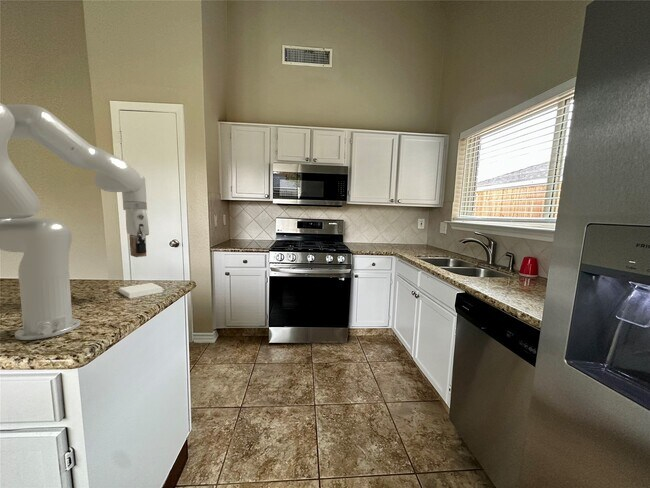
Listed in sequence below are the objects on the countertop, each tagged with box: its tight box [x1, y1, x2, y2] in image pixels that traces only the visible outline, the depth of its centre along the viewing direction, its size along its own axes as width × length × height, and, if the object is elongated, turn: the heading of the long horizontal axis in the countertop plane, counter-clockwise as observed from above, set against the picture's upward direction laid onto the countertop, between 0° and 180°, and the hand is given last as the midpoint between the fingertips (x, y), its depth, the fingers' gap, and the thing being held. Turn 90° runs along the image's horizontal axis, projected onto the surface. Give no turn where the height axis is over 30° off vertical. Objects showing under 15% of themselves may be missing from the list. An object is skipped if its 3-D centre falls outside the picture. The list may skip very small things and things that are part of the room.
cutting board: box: [118, 282, 164, 299], centre depth 111 cm, size 12×12×2 cm
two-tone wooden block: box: [128, 235, 147, 258], centre depth 103 cm, size 6×4×8 cm, turn 53°
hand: (138, 251), depth 104 cm, fingers closed on two-tone wooden block, 6 cm apart
